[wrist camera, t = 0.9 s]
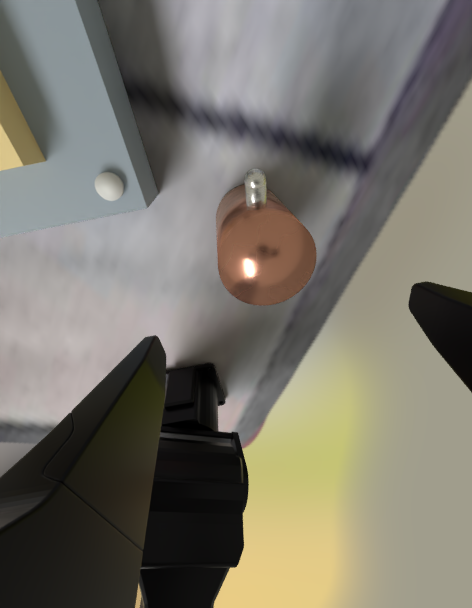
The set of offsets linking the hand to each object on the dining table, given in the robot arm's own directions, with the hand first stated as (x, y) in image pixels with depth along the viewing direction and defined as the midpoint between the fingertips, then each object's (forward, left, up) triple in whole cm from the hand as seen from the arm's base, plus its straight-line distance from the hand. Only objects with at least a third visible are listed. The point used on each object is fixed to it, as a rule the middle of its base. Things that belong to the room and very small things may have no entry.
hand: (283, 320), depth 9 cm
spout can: (0, 0, -13) cm, 13 cm away
